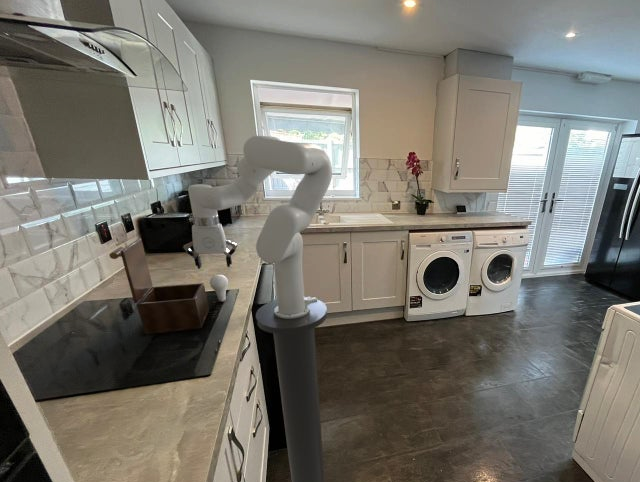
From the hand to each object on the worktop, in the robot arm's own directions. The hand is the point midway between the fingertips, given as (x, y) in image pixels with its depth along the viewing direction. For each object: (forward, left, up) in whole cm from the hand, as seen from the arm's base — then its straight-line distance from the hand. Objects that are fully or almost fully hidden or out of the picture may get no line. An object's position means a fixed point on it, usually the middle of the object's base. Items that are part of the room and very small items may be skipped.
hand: (214, 266), depth 120 cm
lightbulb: (0, 0, -15) cm, 15 cm away
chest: (+15, +9, -14) cm, 23 cm away
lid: (+22, +7, +5) cm, 23 cm away
